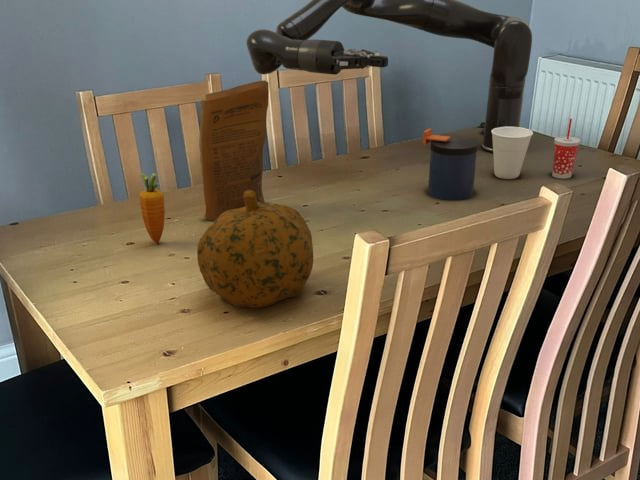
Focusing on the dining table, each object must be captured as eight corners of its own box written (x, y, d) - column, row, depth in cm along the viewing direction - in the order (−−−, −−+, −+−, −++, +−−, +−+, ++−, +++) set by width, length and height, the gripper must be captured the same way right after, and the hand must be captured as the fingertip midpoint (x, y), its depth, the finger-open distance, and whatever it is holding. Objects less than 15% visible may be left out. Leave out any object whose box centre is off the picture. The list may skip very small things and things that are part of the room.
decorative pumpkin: (344, 294, 141) (334, 185, 130) (243, 335, 132) (224, 222, 122) (283, 261, 156) (270, 161, 145) (189, 297, 147) (168, 193, 137)
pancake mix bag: (280, 207, 183) (277, 80, 168) (211, 227, 173) (201, 94, 158) (263, 200, 187) (259, 76, 173) (194, 218, 178) (183, 88, 163)
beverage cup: (556, 170, 202) (565, 114, 195) (578, 175, 198) (588, 118, 191) (544, 176, 198) (552, 119, 191) (567, 181, 195) (576, 123, 187)
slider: (422, 144, 185) (423, 131, 184) (427, 141, 188) (428, 128, 186) (445, 147, 183) (446, 134, 181) (450, 144, 185) (451, 131, 184)
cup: (531, 181, 195) (537, 136, 189) (490, 182, 195) (495, 137, 189) (521, 169, 203) (527, 126, 198) (483, 170, 204) (487, 126, 198)
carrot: (142, 241, 167) (133, 171, 159) (165, 237, 168) (157, 167, 160) (148, 249, 163) (139, 178, 155) (171, 245, 164) (164, 174, 156)
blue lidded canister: (419, 196, 188) (423, 145, 181) (437, 182, 196) (440, 133, 189) (464, 203, 183) (469, 151, 176) (480, 189, 191) (485, 139, 184)
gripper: (333, 68, 198) (397, 73, 191) (307, 78, 189) (374, 84, 181) (333, 36, 194) (399, 40, 187) (307, 44, 185) (375, 49, 177)
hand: (386, 62), depth 184 cm, fingers closed
